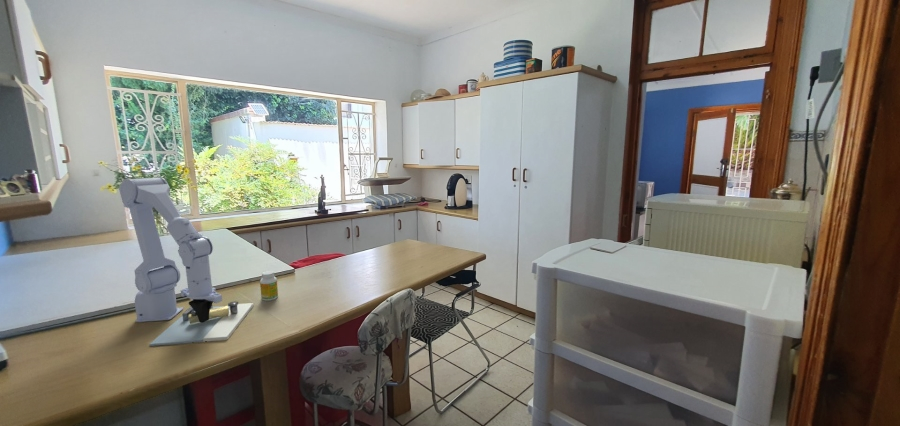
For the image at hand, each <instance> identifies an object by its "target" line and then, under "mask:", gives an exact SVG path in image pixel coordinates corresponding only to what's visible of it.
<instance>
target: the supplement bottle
mask: <svg viewBox="0 0 900 426" xmlns="http://www.w3.org/2000/svg"><path fill="white" fill-rule="evenodd" d="M259 284H260V286H259V287H260V296H261V297H260V298H261V300H262V301H264V302H265V301H273V300H276V299H277V298H278V297H279V293H278V292H279V291H278V279H277V277H276V276H275V271H274V270H266V271H263V272H261V279H260V280H259Z"/></svg>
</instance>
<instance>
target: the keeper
mask: <svg viewBox="0 0 900 426" xmlns="http://www.w3.org/2000/svg"><path fill="white" fill-rule="evenodd" d="M213 307H214V306H213V305H212V306H211V308H210V310H211V309H213ZM193 311H194V309H193V308H192V307H191V306H189V307H188V308H187V309H186V310H185V311H184V312H182V315H181V316H183V321H188V320H189V314H191V312H193Z"/></svg>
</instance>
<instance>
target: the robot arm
mask: <svg viewBox="0 0 900 426" xmlns="http://www.w3.org/2000/svg"><path fill="white" fill-rule="evenodd" d="M118 188H119V189H118V190H119V194H120V198H121V200H122V203H123V207H124V208H127V209H129V214H130V216H131V220H132V223H133V227H134V232H135V235H136V238H137V242H138V245H139V246H138V247H139V249H140V253H141V257H142V260H143V261H142V262H141V263H140V264H139V265H138V266H137V267H136V268H135V269H134V284H135V287H136V289H137V290H138V292H137V293H136V294H135V297H134V307H135V315H136V320H135V323H142V322H143V323H144V322H157V321H158V322H159V321H169V320H172V319H173V318H174V317H175V316H177V315H178V314H179V313H180V312H182V311H183V310H184V307H182V306H181V307H178V306H177V298H176V290H175V287H177V285H178V283H179V281H180V280H181V271H180V269H179V267H178V266H177V265H176V262H175V260H174V259H170V258H167V257H166V256H165V253H164V249H163V245H162V242H161V238H160V233H159V231H158V228H157V227H158V226H157V223H156V219H155V215H154V212H153V208H154V209H155V210H156V211H157V212H158V213H159V214H160V216H161V217H162V218H163V219H164V220H165V222H167V225H166V230H167V231H168V233H169V234H170V236H171V237H172V239H174V241H175V243H176V244H177V246H178V250H177V253H178V255H179V257H180V258H181V261H182V262H181V263H182V265H183V267H185V274H186V275H185V276H186V281H187V282H186V283H187V287H186V288H184V289H183V288H182V289H181V290H180V291H179V292H180V296H181V297H182V298H183V297H187V298H188V299H190V301H188V305H189V307H192V308H193V309H194V311H195V312H196V314H197V316H198V319H199V322H200V323H203V322H205V321H207V320H209V312H210V308H211V306H213V304H218V303H220V302H223V295H222V294H221V293H219V292H217V291H216V287H213V286H212V285H213V283H212V275H211V273H212V272H211V266H210V265H211V264H210V255H211V254H212V253H213V251H214V250H213V249H214V246H213V243H212V241H211V239H210V238H209V237H207V236H204V235H203V233H202V234H201V233H200V232H199V231H198V230H197V229H196V228H195V226H194V225H193V223H192V222H191V220H190V219H189V218H187V217H182V216H181V214H180V212H179V211H178V208H177V207H176V204H175V203H174V202H173V200H172V198H171V197H170V194H171V189H170V188H171V187H170V185H169V183H168V181H167V180H166V179H165V178H164V177H162V176H156V177H145V178H144V177H143V178H142V177H141V178H140V177H139V178H124V179H123V180H122V181H121V183H120V186H119V187H118Z"/></svg>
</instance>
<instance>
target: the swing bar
mask: <svg viewBox="0 0 900 426" xmlns="http://www.w3.org/2000/svg"><path fill="white" fill-rule="evenodd" d="M223 306H224V307H219V308H215V309H211V310H210V312H209V319H213V318H217V317H221V316H225V315H229V308H228V305H223ZM189 322H190V324H193V323H197V322H199V319H198V316H197V314H196V312H195V311H193V312H191V314H189Z"/></svg>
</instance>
